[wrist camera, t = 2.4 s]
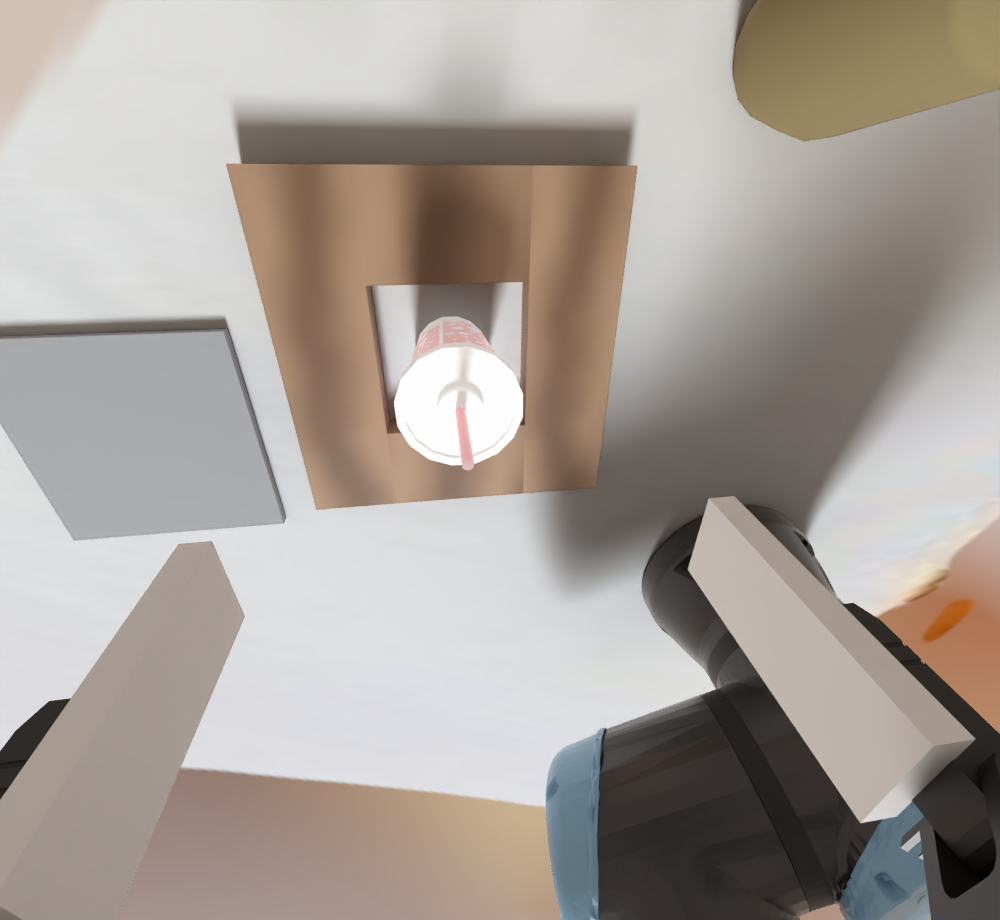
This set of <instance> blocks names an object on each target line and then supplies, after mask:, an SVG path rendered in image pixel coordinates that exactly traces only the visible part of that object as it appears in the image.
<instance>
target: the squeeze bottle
mask: <svg viewBox="0 0 1000 920" xmlns="http://www.w3.org/2000/svg"><path fill="white" fill-rule="evenodd" d="M733 79H734V83H735V88H736V92H737V97H738V100H739V101H740V103H741V104H742V105H743V107H744V108H745V109H746V111H747V112H748V113H749V115H750V116H751V117H753V118H755V119H757V120H759V121H761V122H762V123H764V124H766V125H768V126H770V127H772V128H774V129H775V130H777V131H779V132H782V133H784V134H787V135H790V136H792V137H795V138H797V139H800V140H802V141H810V140H816V139H822V138H828V137H833V136H838V135H841V134H845V133H848V132H851V131H855V130H858V129H862V128H865V127H869V126H872V125H876V124H879V123H883V122H886V121H890V120H893V119H897V118H900V117H904V116H907V115H911V114H914V113H918V112H921V111H925V110H928V109H932V108H935V107H939V106H942V105H946V104H949V103H953V102H956V101H959V100H963V99H966V98H970V97H973V96H977V95H980V94H984V93H987V92H991V91H994V90H998V89H1000V0H757V2H756V3H755V5H754V6H753V8H752V9H751V11H750V12H749V13H748V15H747V17H746V20H745V22H744V25H743V27H742V30H741V33H740V35H739V38H738V41H737V43H736V46H735V56H734V66H733Z"/></svg>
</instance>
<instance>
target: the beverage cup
mask: <svg viewBox="0 0 1000 920" xmlns="http://www.w3.org/2000/svg"><path fill="white" fill-rule="evenodd" d="M394 407H395V414H396V420H397V426H398V428H399V430H400V431H401V433H402V434H403V436H404V437H405V439H406V441H407V442H408V444H409V445H410V446H411V447H412V448H414V449H415V450H416V451H418V452H419V453H421V454H422V455H424V456H425V457H426V458H428V459H429V460H433V461H437V462H441V463H445V464H449V465H462V468H463V469H464V470H471V469H473V468H474V464H475V463H478V462H480V461H482V460H485V459H487V458H489V457H491V456H494V455H496V454H498V453H499V452H500V451H501V450H502V449H503V448H504V447H505V446H506V445H507V444H508V443H509V442H510V441H511V440H512V439H513V438H514V436H515V434H516V431H517V429H518V427H519V425H520V422H521V420H522V418H523V393H522V390H521V388H520V386H519V384H518V381H517V379H516V377H515V374H514V372H513V370H512V369H511V367H510V366H509V365H508V364H507V363H505V362H504V361H503V360H502V359H501V358H500V357H499V356H498V355H497V354H496V353H495V352H494V350H493V349H492V347H491V346H490V344H489V343H488V341H487V340H486V338H485V336H484V335H483V333H482V332H481V331H480V330H479V329H478V328H477V327H476V326H475V325H474V324H473V323H472V322H471V321H468V320H465V319H463V318H460V317H457V316H454V317H441V318H439V319H437V320H435V321H433V322H431V323H429V324H428V325H427V326H426V328H425V329H424V330H423V331H422V332H421V334H420V335H419V339H418V342H417V345H416V349H415V352H414V355H413V358H412V362H411V364H410V365H409V367H408V368H407V369H406V370H405V371H404V372H403V373H402V377H401V379H400V383H399V386H398V390H397V393H396V396H395V400H394Z"/></svg>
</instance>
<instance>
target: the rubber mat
mask: <svg viewBox="0 0 1000 920" xmlns="http://www.w3.org/2000/svg"><path fill="white" fill-rule="evenodd" d="M0 424H1V426H2V427H3V429H4V430H5V432H6V433H7V435H8V437H9V438H10V440H11V441H12V443H13V445H14V446H15V448H16V449H17V451H18V453H19V454H20V456H21V457H22V459H23V460H24V462H25V464H26V465H27V467H28V468H29V470H30V472H31V473H32V475H33V476H34V478H35V479H36V481H37V483H38V484H39V486H40V487H41V489H42V491H43V492H44V494H45V495H46V497H47V498H48V500H49V502H50V503H51V505H52V506H53V508H54V510H55V511H56V513H57V514H58V516H59V517H60V519H61V521H62V522H63V524H64V525H65V527H66V529H67V530H68V532H69V533H70V535H71V537H72V538H73V540H87V539H99V538H111V537H123V536H136V535H148V534H160V533H172V532H184V531H197V530H209V529H221V528H233V527H246V526H258V525H270V524H282V523H284V522H285V519H286V517H285V513H284V510H283V507H282V504H281V500H280V497H279V494H278V491H277V488H276V484H275V481H274V478H273V475H272V471H271V468H270V465H269V462H268V458H267V455H266V452H265V449H264V445H263V442H262V439H261V436H260V432H259V429H258V426H257V423H256V419H255V416H254V413H253V410H252V406H251V403H250V400H249V397H248V393H247V390H246V387H245V384H244V380H243V377H242V374H241V371H240V367H239V364H238V361H237V358H236V354H235V351H234V348H233V345H232V341H231V338H230V335H229V332H228V329H203V330H174V331H145V332H116V333H87V334H58V335H29V336H0Z"/></svg>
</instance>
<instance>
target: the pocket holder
mask: <svg viewBox="0 0 1000 920" xmlns="http://www.w3.org/2000/svg"><path fill="white" fill-rule="evenodd" d="M226 166H227V170H228V173H229V177H230V181H231V185H232V189H233V192H234V196H235V200H236V204H237V208H238V212H239V215H240V219H241V223H242V227H243V231H244V235H245V238H246V242H247V246H248V250H249V254H250V258H251V261H252V265H253V269H254V273H255V277H256V280H257V284H258V288H259V292H260V296H261V300H262V303H263V307H264V311H265V315H266V319H267V323H268V326H269V330H270V334H271V338H272V342H273V345H274V349H275V353H276V357H277V361H278V365H279V368H280V372H281V376H282V380H283V384H284V388H285V391H286V395H287V399H288V403H289V407H290V411H291V414H292V418H293V422H294V426H295V430H296V433H297V437H298V441H299V445H300V449H301V453H302V456H303V460H304V464H305V468H306V472H307V476H308V479H309V483H310V487H311V491H312V495H313V498H314V502H315V506H316V510H317V509H330V508H342V507H355V506H368V505H380V504H393V503H406V502H418V501H431V500H444V499H456V498H469V497H482V496H494V495H507V494H520V493H532V492H545V491H557V490H570V489H583V488H595V487H596V484H597V476H598V468H599V461H600V453H601V445H602V437H603V430H604V422H605V414H606V407H607V399H608V391H609V383H610V376H611V368H612V360H613V352H614V345H615V337H616V329H617V321H618V314H619V306H620V298H621V290H622V283H623V275H624V267H625V259H626V252H627V244H628V236H629V228H630V221H631V213H632V205H633V197H634V190H635V182H636V174H637V166H594V165H382V164H226ZM498 282H523V296H522V341H521V385H520V388H521V390H522V393H523V418H522V420H521V422H520V425H519V427H518V429H517V431H516V434H515V436H514V438H513V439H512V440H511V441H510V442H509V443H508V444H507V445H506V446H505V447H504V448H503V449H502V450H501V451H500V452H499V453H498V454H496V455H494V456H491V457H489V458H487V459H485V460H482V461H480V462H478V463H475V464H474V468H473V469H471V470H464V469H463V468H462V465H449V464H445V463H441V462H437V461H433V460H429V459H428V458H426V457H425V456H424V455H422V454H421V453H419V452H418V451H416V450H415V449H414V448H412V447H411V446H410V445H409V444H408V442H407V441H406V439H405V437H404V436H403V434H402V433H401V431H400V430H399V428H398V426H397V420H389V413H388V406H387V399H386V392H385V385H384V378H383V370H382V363H381V356H380V349H379V342H378V335H377V328H376V321H375V314H374V306H373V299H372V292H371V286H379V285H419V284H459V283H498Z"/></svg>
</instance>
